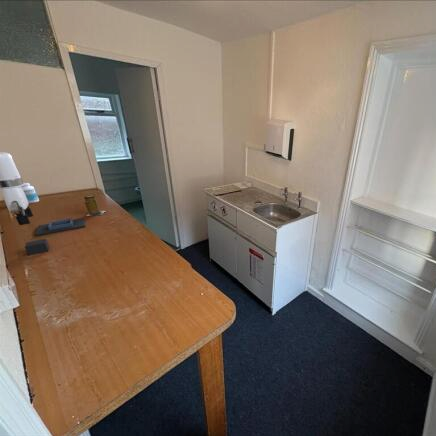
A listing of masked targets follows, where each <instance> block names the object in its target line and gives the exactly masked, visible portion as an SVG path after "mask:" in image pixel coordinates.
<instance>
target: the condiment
mask: <svg viewBox="0 0 436 436" xmlns="http://www.w3.org/2000/svg"><path fill="white" fill-rule="evenodd" d="M83 198H84V204H85V207H86V210H87V213H88V214H86V217H89V216H102V215H103V214H105V213H106V210H101V209H100V206H99V203H98V200H97V198H96V196H95V195H94V194H88V195H84V197H83ZM104 212H105V213H104Z"/></svg>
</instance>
